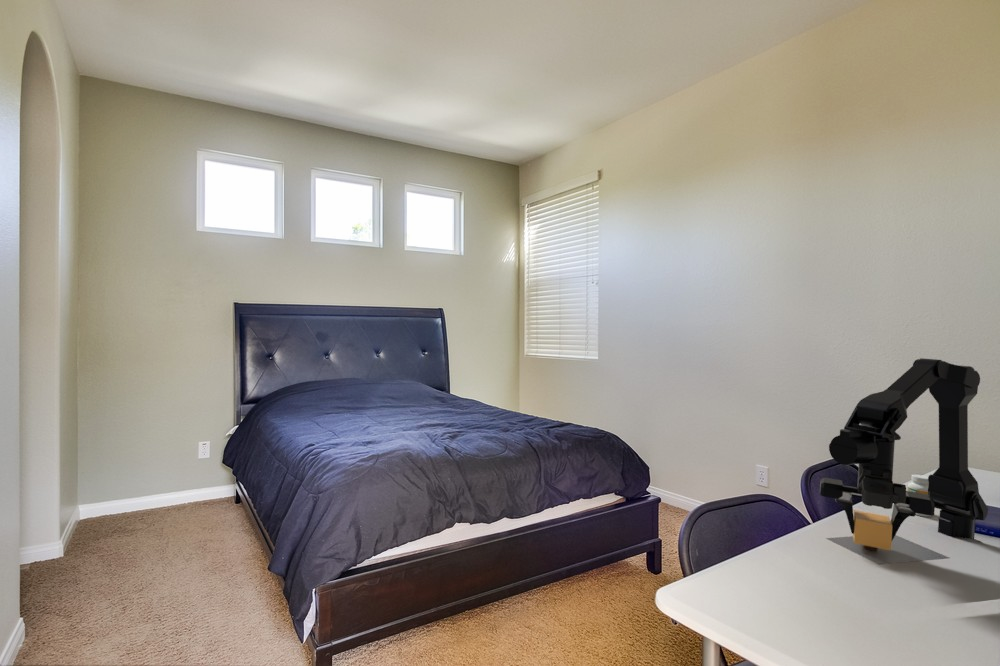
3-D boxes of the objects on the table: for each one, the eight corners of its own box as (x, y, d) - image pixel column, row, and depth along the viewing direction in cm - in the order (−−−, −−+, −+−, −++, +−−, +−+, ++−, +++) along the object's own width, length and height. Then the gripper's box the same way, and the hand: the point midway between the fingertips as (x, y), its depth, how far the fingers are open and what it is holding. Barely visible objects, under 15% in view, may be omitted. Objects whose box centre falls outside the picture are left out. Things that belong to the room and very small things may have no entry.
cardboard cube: (852, 533, 112) (853, 510, 112) (887, 540, 109) (888, 516, 109) (854, 542, 107) (855, 518, 107) (890, 550, 104) (892, 525, 103)
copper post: (869, 546, 109) (871, 522, 109) (880, 551, 107) (882, 526, 107) (860, 546, 109) (861, 522, 109) (871, 551, 106) (872, 527, 106)
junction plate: (891, 540, 117) (892, 533, 117) (949, 565, 105) (949, 557, 105) (825, 545, 112) (825, 538, 112) (878, 571, 101) (878, 564, 101)
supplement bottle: (936, 515, 135) (938, 478, 134) (927, 518, 132) (930, 480, 132) (911, 508, 139) (913, 472, 139) (902, 511, 136) (904, 474, 136)
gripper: (822, 461, 105) (818, 538, 106) (942, 479, 96) (937, 564, 96) (822, 450, 115) (818, 521, 115) (931, 466, 105) (926, 543, 106)
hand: (871, 536), depth 108 cm, fingers closed on cardboard cube, 6 cm apart
